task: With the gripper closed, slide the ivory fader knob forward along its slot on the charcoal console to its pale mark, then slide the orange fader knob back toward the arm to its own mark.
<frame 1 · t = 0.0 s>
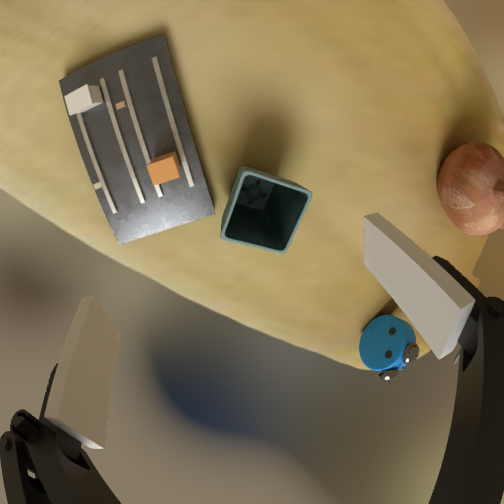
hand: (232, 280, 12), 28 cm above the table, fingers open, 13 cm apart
flower pot: (252, 190, 40), on the table
console: (136, 141, 33), on the table
alarm clock: (374, 324, 62), on the table
fader orange: (165, 167, 31), point 4 cm above the table, slide at 12.0 cm
fader ivory: (84, 99, 25), point 5 cm above the table, slide at 0.0 cm
jug: (453, 176, 45), on the table
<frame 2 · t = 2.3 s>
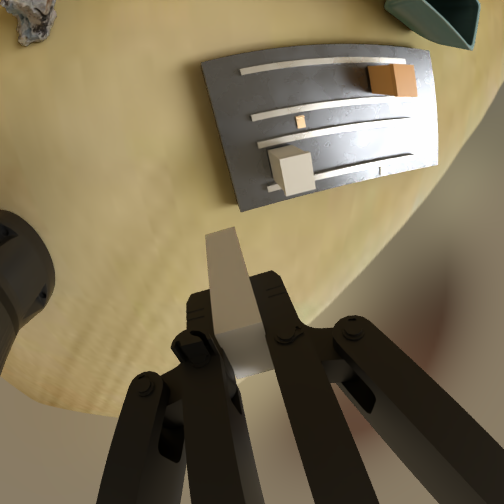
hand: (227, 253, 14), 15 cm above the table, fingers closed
flower pot: (401, 8, 19), on the table
console: (341, 112, 26), on the table
fader orange: (391, 79, 20), point 5 cm above the table, slide at 12.0 cm
mineral specimen: (53, 0, 13), on the table
fader ivory: (290, 167, 23), point 5 cm above the table, slide at 0.0 cm
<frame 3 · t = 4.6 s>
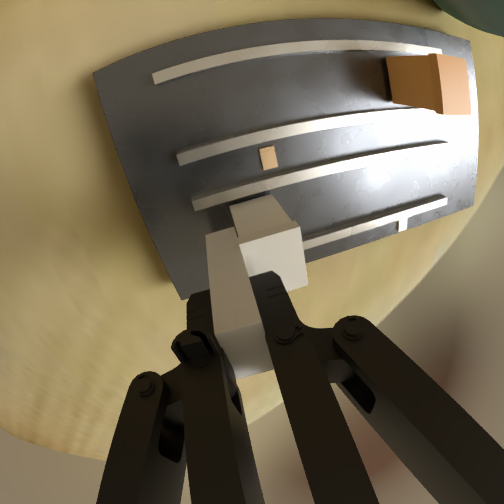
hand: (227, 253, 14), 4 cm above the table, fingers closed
console: (341, 133, 16), on the table
fader orange: (427, 82, 11), point 4 cm above the table, slide at 12.0 cm
fader ivory: (265, 242, 14), point 4 cm above the table, slide at 1.0 cm, touching gripper
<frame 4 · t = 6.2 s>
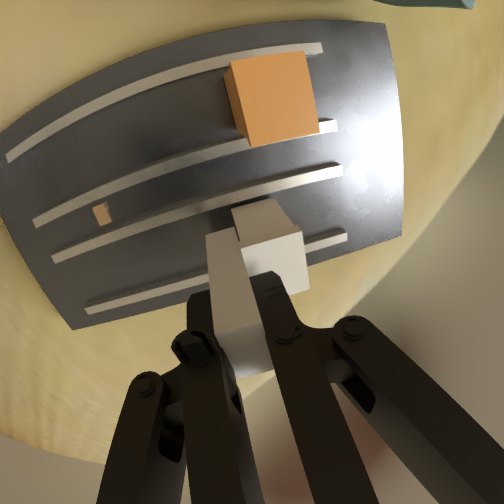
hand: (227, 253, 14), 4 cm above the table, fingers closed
console: (194, 171, 16), on the table
fader orange: (263, 97, 10), point 4 cm above the table, slide at 12.0 cm
fader ivory: (266, 245, 14), point 4 cm above the table, slide at 10.7 cm, touching gripper
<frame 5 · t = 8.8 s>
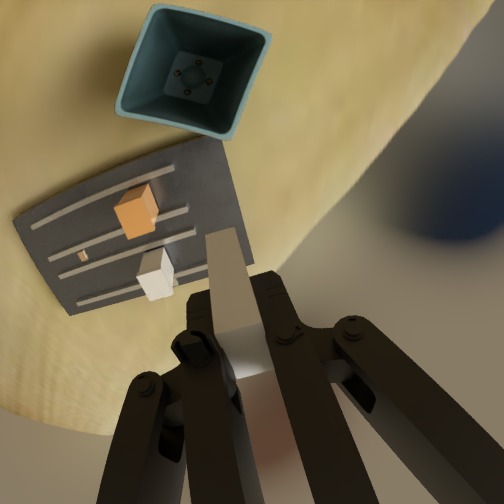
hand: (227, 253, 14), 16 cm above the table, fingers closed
flower pot: (193, 78, 23), on the table
console: (125, 232, 29), on the table
fader orange: (138, 209, 24), point 5 cm above the table, slide at 12.0 cm
fader ivory: (156, 272, 27), point 5 cm above the table, slide at 11.0 cm
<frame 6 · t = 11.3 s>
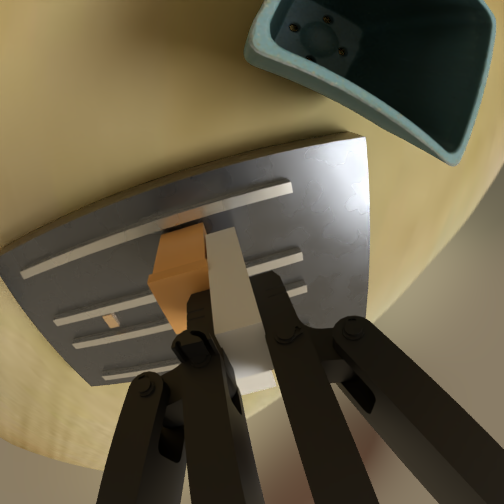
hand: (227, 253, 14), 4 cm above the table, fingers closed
flower pot: (316, 42, 13), on the table
console: (182, 283, 19), on the table
fader orange: (189, 274, 14), point 5 cm above the table, slide at 9.8 cm, touching gripper
fader ivory: (245, 352, 17), point 5 cm above the table, slide at 11.0 cm
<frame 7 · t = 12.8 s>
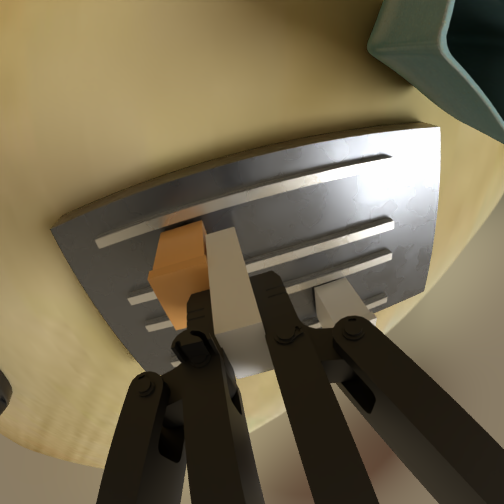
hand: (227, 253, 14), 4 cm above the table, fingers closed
flower pot: (399, 44, 13), on the table
console: (275, 253, 20), on the table
fader orange: (189, 271, 14), point 5 cm above the table, slide at 3.0 cm, touching gripper
fader ivory: (342, 318, 18), point 5 cm above the table, slide at 11.0 cm
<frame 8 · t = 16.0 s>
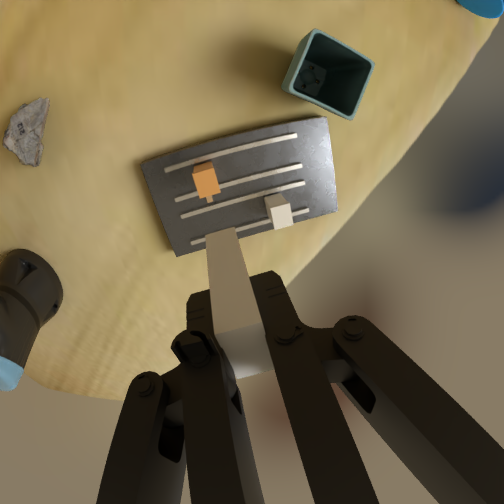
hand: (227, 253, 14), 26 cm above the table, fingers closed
flower pot: (306, 77, 33), on the table
console: (245, 182, 40), on the table
fader orange: (206, 178, 34), point 5 cm above the table, slide at 3.0 cm
mineral specimen: (40, 129, 29), on the table
fader ivory: (277, 210, 38), point 5 cm above the table, slide at 11.0 cm
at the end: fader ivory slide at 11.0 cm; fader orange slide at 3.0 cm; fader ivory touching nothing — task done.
